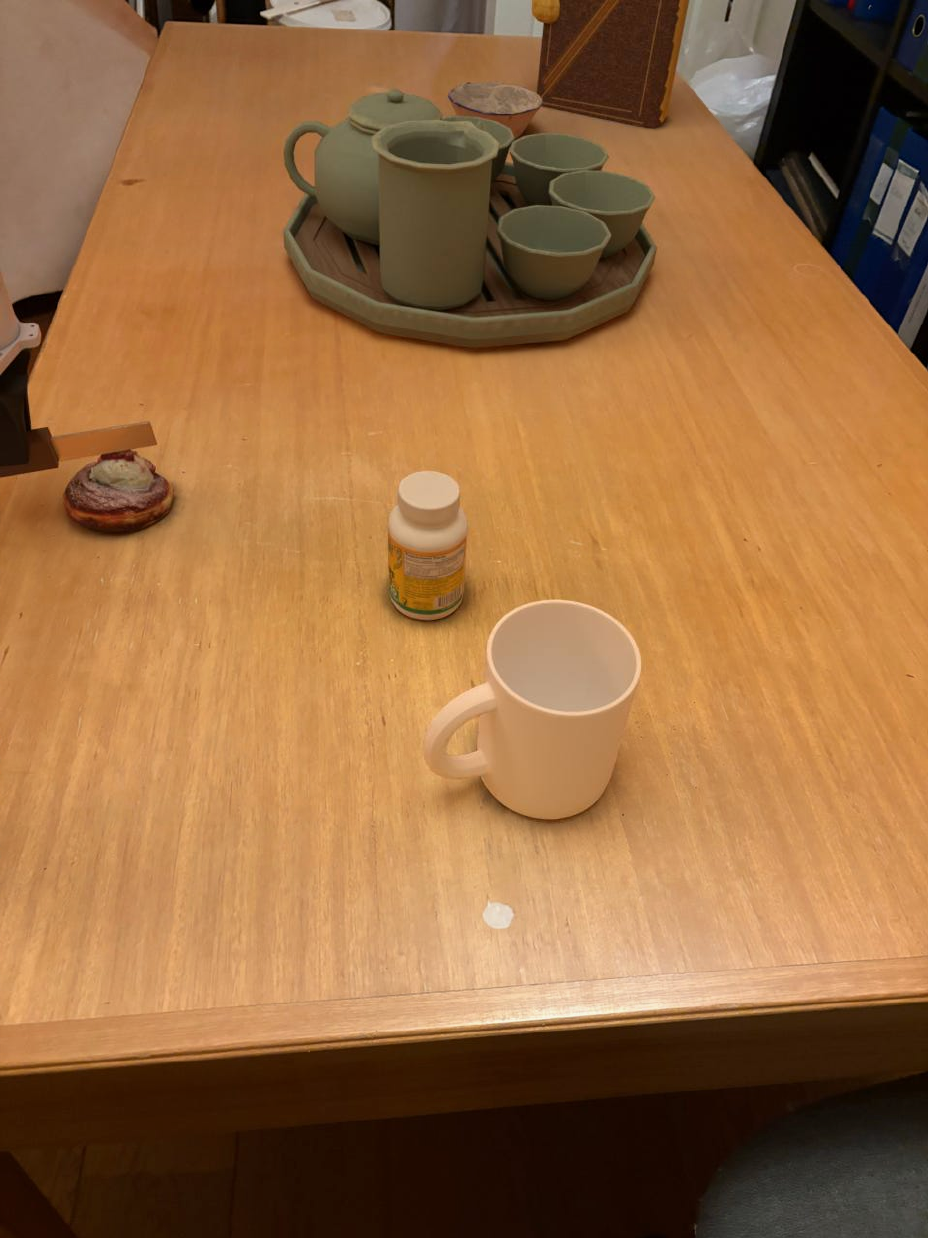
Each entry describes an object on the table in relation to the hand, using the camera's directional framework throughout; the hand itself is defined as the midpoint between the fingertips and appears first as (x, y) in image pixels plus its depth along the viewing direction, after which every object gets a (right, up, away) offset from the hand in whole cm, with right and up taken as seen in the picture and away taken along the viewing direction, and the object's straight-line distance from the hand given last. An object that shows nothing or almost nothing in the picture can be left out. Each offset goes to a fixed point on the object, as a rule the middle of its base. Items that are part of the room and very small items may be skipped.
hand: (14, 452), depth 66 cm
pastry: (+6, -3, +6) cm, 8 cm away
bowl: (+36, +57, +65) cm, 94 cm away
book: (+51, +65, +74) cm, 111 cm away
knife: (+4, 0, +1) cm, 4 cm away
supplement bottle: (+29, -10, 0) cm, 31 cm away
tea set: (+32, +28, +37) cm, 57 cm away
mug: (+35, -21, -10) cm, 42 cm away
